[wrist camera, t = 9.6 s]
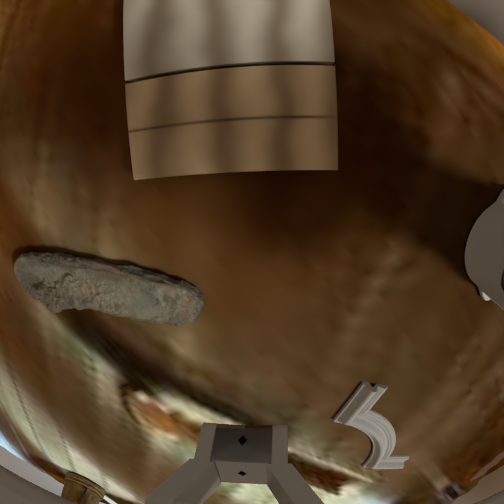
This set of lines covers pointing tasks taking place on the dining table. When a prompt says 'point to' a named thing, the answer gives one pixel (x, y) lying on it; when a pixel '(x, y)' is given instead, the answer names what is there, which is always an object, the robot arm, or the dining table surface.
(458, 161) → the dining table surface
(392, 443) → the molding
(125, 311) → the long grey stone
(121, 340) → the dining table surface
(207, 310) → the dining table surface
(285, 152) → the oak board
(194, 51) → the birch plank
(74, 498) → the tankard
